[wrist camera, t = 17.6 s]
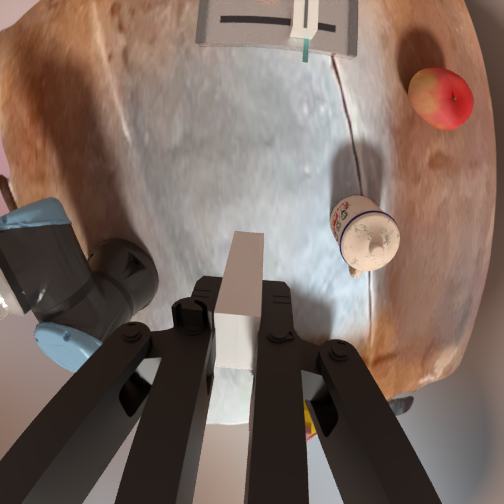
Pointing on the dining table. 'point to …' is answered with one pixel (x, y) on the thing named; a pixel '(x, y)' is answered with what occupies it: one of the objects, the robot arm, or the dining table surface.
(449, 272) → the dining table surface
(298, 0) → the fader
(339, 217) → the teacup with lid
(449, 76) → the apple
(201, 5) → the console
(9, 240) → the robot arm
